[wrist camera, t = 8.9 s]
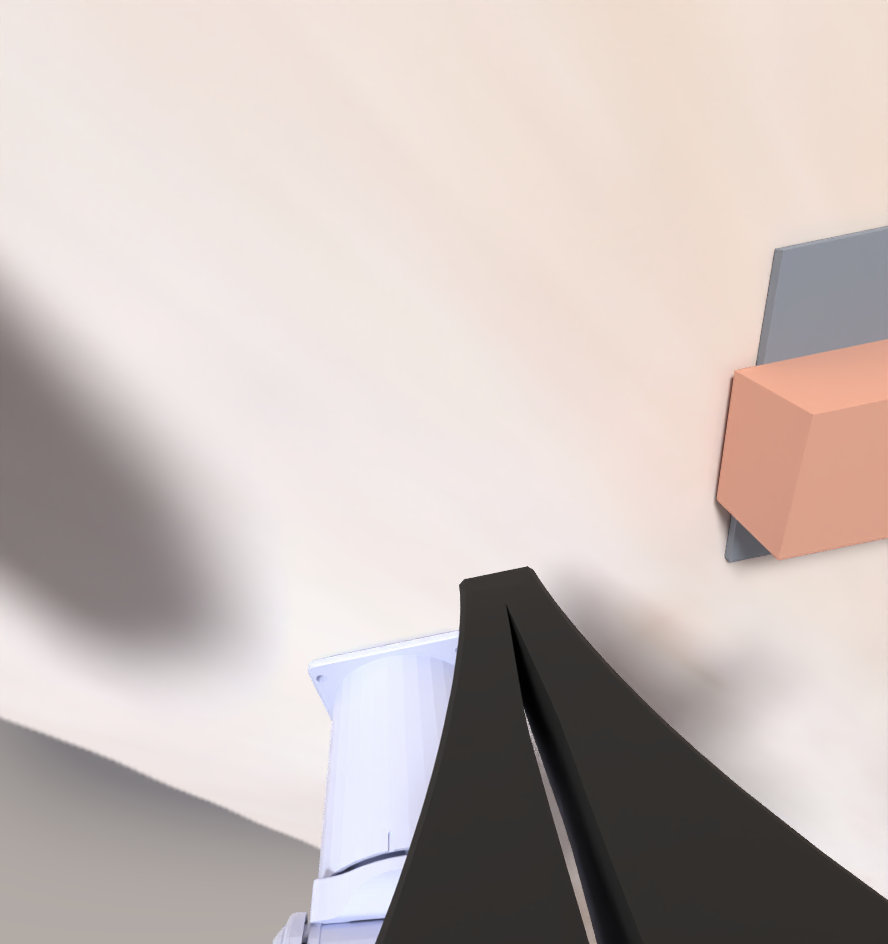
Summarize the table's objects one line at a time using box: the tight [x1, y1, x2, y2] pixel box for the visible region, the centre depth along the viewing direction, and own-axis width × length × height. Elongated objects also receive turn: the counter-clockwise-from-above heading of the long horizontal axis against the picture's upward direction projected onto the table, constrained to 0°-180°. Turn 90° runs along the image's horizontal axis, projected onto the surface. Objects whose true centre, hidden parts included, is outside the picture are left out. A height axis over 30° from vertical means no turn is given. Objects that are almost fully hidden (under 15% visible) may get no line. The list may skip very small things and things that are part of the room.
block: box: [717, 339, 888, 560], centre depth 19 cm, size 6×4×10 cm
